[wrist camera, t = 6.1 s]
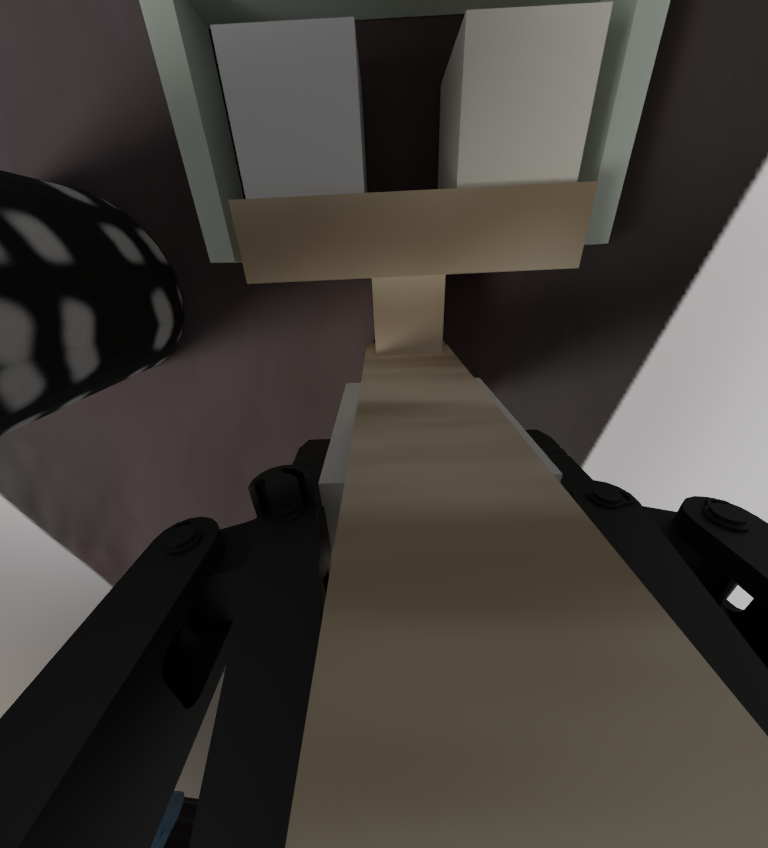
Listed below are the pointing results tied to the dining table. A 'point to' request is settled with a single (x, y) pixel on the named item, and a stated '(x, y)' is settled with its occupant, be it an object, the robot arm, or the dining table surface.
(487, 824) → the cream t-shaped block
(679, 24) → the dining table surface
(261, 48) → the gray cube
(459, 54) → the off-white cube
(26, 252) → the spotted tube
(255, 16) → the bay
